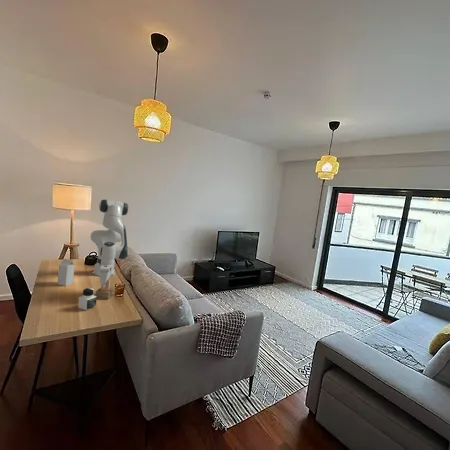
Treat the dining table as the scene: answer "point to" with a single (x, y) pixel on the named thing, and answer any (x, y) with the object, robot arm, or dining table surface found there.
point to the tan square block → (104, 293)
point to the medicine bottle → (87, 299)
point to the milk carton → (65, 272)
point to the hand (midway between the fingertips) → (105, 284)
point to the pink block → (106, 286)
